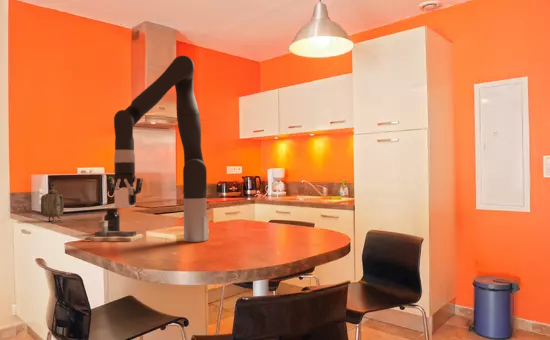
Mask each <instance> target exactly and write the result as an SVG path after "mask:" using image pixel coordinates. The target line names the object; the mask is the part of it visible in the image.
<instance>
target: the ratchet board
mask: <svg viewBox="0 0 550 340" xmlns="http://www.w3.org/2000/svg"><path fill="white" fill-rule="evenodd" d="M142 237H143V238H144V235H143V234H142V233H137V231H136V230H134V231H132V230H131V231H130V230H129V231H128V230H127V231H126V230H124V231H122V230H120V231H108V221H104V220H100V221H98V231H95V232H94V235H91V236H86V237H84V241H85V240H95V241H94V242H100V241H131V242H133V241H137V240H140V239H143V238H142ZM139 238H140V239H139ZM136 239H137V240H136Z"/></svg>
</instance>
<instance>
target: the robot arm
mask: <svg viewBox="0 0 550 340" xmlns="http://www.w3.org/2000/svg"><path fill="white" fill-rule="evenodd" d="M194 72H195V63H194V61H193V60H192V58H191V57H189V56H187V55H178V56H176V57H175V58H174V59H173V60H172V62H171V63H170V64H169V65H168V67H167V68H166V69H165V70H164V71H163V73H162V74H161V75H159V77H158V78H157V79H156V80H155V81H154V82H152V83H151V84H150V85H148V86H147V87H146V88H145V89H144V90H143V91H142V92H141V93H140V94H138V95H137V96H136V97H135V98H134V99H133V100H132V101H131V104H129V106H128V107H126V108H125V109H121V110H118V111H117V112H115V114H114V117H113V125H114V126H113V127H114V157H113V158H114V159H113V163H114V165H113V166H114V177H113V178H107V179H106V183H107V189H108V193H109V194H110V195H112V196H113V200H114V201H113V202H114V204H115V190H123V188H125V189H126V188H127V190H130V194H131V205H134V204H135V205H136V203H137V195H138V194H140V193H141V192H142V186H143V181H144V178H141V177H140V178H139V177H138V178H137V177H136V175H135V173H136V156H135V140H134V131H133V130H134V126H136V125H137V123H138V122H139V121H140V120H141V119H142V118H143V116H145V115H146V114H147V113H149V111H151V110H152V109H153V108H154V107H155V106H156V105H157V104H158V103H159V102H160V101H161V100H162V99H163V98H164V97H165V95H166V94H167V93H168V92H169V91H170V90H171V89H172V88H173V87H174V88H175V94H176V100H175V101H176V102H175V104H176V106H175V108H176V119H177V128H178V132H179V136H180V140H181V144H182V148H183V159H184V160H183V163H184V164H183V170H182V180H183V182H182V183H183V184H182V186H183V187H182V188H183V189H182V192H183V241H184V242H188V243H194V242H195V243H196V242H205V241H207V240H209V215H207V213H208V212H207V211H208V209H207V206H208V205H207V204H208V202H207V201H208V200H207V197H208V196H207V195H208V194H207V193H208V192H207V189H208V188H207V186H208V185H207V183H208V182H207V178H208V176H207V166H206V164H205V162H204V157H203V153H202V124H201V123H202V122H201V116H200V112H199V107H198V106H199V105H198V103H197V100H196V99H197V98H196V96H195V91H194ZM115 183H116V185H114V184H115ZM134 183H135V184H136V185H134Z"/></svg>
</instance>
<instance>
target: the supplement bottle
mask: <svg viewBox="0 0 550 340" xmlns="http://www.w3.org/2000/svg"><path fill="white" fill-rule="evenodd" d="M105 212H106V214H105V215H104V217H103V221H108V231H121V229H120V226H121V224H120V223H121V222H120V221H121V216H120V214H119V213H118V208H115V207H112V208H111V207H109V208H106V211H105Z"/></svg>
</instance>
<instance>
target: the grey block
mask: <svg viewBox="0 0 550 340" xmlns="http://www.w3.org/2000/svg"><path fill="white" fill-rule="evenodd" d="M134 207H136V203H135V204H134V205H131V194H130V190H128V189H122V190H115V203H114V208H117V209H118V208H119V209H121V208H123V209H124V208H127V209H128V208H129V209H130V208H134Z"/></svg>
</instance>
